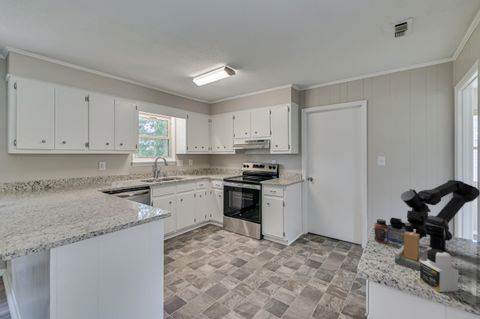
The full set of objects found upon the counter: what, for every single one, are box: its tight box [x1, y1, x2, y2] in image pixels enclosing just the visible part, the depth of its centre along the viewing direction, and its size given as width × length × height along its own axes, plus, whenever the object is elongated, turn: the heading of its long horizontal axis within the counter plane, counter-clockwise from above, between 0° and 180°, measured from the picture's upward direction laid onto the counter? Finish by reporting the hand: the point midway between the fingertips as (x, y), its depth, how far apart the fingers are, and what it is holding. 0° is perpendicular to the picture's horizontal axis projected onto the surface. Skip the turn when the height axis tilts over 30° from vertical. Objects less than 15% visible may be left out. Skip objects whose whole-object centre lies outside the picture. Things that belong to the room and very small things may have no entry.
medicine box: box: [387, 222, 406, 244], centre depth 115 cm, size 8×4×9 cm, turn 55°
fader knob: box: [403, 231, 420, 261], centre depth 91 cm, size 4×4×10 cm
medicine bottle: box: [419, 249, 459, 293], centre depth 75 cm, size 7×7×12 cm
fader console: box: [394, 244, 432, 271], centre depth 94 cm, size 19×9×4 cm, turn 130°
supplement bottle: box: [374, 218, 389, 244], centre depth 114 cm, size 6×6×11 cm
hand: (412, 244), depth 93 cm, fingers closed
